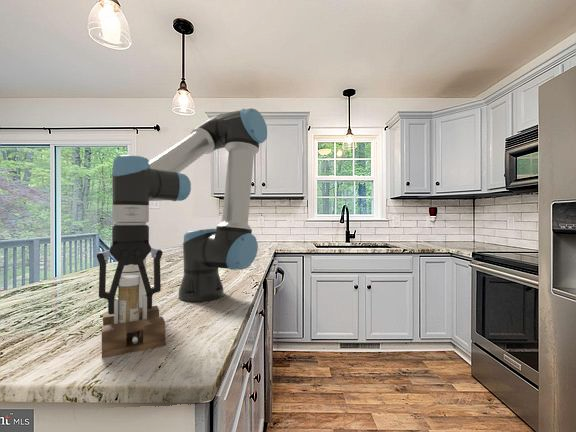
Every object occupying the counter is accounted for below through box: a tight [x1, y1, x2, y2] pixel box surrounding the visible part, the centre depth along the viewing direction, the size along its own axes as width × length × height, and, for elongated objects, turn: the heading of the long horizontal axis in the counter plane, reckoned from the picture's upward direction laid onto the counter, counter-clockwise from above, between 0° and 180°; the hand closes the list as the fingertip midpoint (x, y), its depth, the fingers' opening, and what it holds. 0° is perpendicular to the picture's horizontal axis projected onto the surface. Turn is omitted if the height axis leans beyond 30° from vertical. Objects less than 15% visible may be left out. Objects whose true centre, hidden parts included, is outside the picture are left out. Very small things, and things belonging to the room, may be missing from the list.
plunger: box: [128, 331, 140, 344], centre depth 67 cm, size 2×6×2 cm, turn 29°
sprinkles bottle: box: [117, 275, 140, 338], centre depth 72 cm, size 5×5×14 cm
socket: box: [101, 305, 166, 358], centre depth 72 cm, size 12×15×5 cm
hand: (130, 325), depth 72 cm, fingers open, 5 cm apart
